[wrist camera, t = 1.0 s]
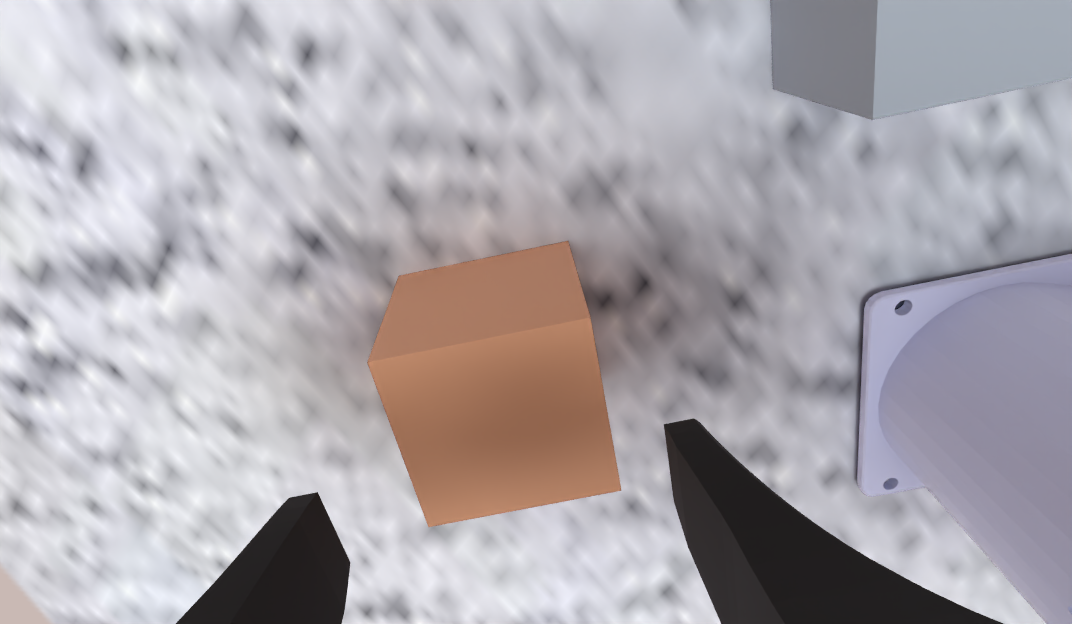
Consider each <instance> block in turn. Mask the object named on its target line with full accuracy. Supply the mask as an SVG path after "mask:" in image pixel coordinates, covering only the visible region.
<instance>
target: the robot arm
mask: <svg viewBox="0 0 1072 624" xmlns="http://www.w3.org/2000/svg"><path fill="white" fill-rule="evenodd" d="M903 300H905V302H904V304H903V305H902V306H901V307H900V308H899V309H896V310H895V307H896V305H897V304H898V303H899V302H900V301H903ZM664 429H665V437H666V444H667V452H668V459H669V467H670V475H671V482H672V490H673V498H674V503H675V506H676V509H677V512H678V516H679V519H680V522H681V526H682V529H683V532H684V535H685V538H686V542H687V545H688V548H689V550H690V552H691V555H692V557H693V559H694V562H695V564H696V566H697V569H698V571H699V573H700V576H701V578H702V580H703V583H704V585H705V587H706V589H707V592H708V594H709V596H710V599H711V601H712V603H713V605H714V608H715V610H716V612H717V615H718V617H719V619H720V622H721V624H1003V623H1001V622H998V621H996V620H993V619H991V618H988V617H986V616H983V615H981V614H979V613H976V612H974V611H972V610H969V609H967V608H965V607H963V606H961V605H958V604H956V603H954V602H952V601H950V600H948V599H946V598H944V597H942V596H939V595H937V594H935V593H933V592H931V591H929V590H927V589H925V588H923V587H921V586H919V585H917V584H915V583H913V582H911V581H910V580H908V579H906V578H904V577H902V576H900V575H899V574H897V573H895V572H893V571H891V570H889V569H888V568H886V567H884V566H882V565H880V564H878V563H877V562H875V561H873V560H871V559H869V558H868V557H866V556H864V555H863V554H861V553H860V552H858V551H856V550H855V549H853V548H851V547H850V546H848V545H847V544H845V543H843V542H842V541H840V540H839V539H837V538H836V537H834V536H833V535H831V534H830V533H828V532H827V531H825V530H824V529H822V528H821V527H820V526H818V525H817V524H815V523H814V522H812V521H811V520H810V519H808V518H807V517H806V516H804V515H803V514H801V513H800V512H799V511H797V510H796V509H795V508H794V507H792V506H791V505H790V504H788V503H787V502H786V501H785V500H783V499H782V498H781V497H779V496H778V495H777V494H776V493H774V492H773V491H772V490H771V489H770V488H768V487H767V486H766V485H765V484H764V483H763V482H761V481H760V480H759V479H758V478H757V477H756V476H754V475H753V474H752V473H751V472H750V471H749V470H748V469H746V468H745V467H744V466H743V465H742V464H741V463H740V462H739V461H738V460H737V459H735V458H734V457H733V456H732V455H731V454H730V453H729V452H728V451H727V450H726V449H725V448H724V447H723V446H722V445H721V444H720V443H719V442H718V441H717V440H716V439H715V438H714V437H713V436H712V435H711V434H710V433H709V432H708V431H707V430H706V429H705V428H704V426H703V425H702V424H701V423H700V422H698V421H697V420H695V419H689V420H684V421H679V422H674V423H669V424H664ZM887 479H889V480H888V481H886V480H887ZM857 484H858V487H859V488H860V490H861V491H862V492H863V493H864V494H865V495H867V496H880V495H885V494H890V493H896V492H901V491H906V490H912V489H917V488H923V487H926V488H927V489H928V490H929V491H930V492H931V493H932V495H933V496H934V497H935V498H936V499H937V500H938V501H939V502H940V504H941V505H942V506H943V507H944V508H945V509H946V510H947V512H948V513H949V514H950V515H951V516H952V517H953V518H954V519H955V521H956V522H957V523H958V524H959V525H960V526H961V527H962V528H963V530H964V531H965V532H966V533H967V534H968V535H969V536H970V538H971V539H972V540H973V541H974V542H975V543H976V544H977V545H978V547H979V548H980V549H981V550H982V551H983V552H984V553H985V554H986V556H987V557H988V558H989V559H990V560H991V561H992V562H993V564H994V565H995V566H996V567H997V568H998V569H999V570H1000V571H1001V573H1002V574H1003V575H1004V576H1005V577H1006V578H1007V579H1008V581H1009V582H1010V583H1011V584H1012V585H1013V586H1014V587H1015V588H1016V590H1017V591H1018V592H1019V593H1020V594H1021V595H1022V596H1023V597H1024V599H1025V600H1026V601H1027V602H1028V603H1029V604H1030V605H1031V607H1032V608H1033V609H1034V610H1035V611H1036V612H1037V613H1038V614H1039V616H1040V617H1041V618H1042V619H1043V620H1044V621H1045V622H1046V623H1047V624H1072V254H1067V255H1062V256H1057V257H1052V258H1047V259H1042V260H1037V261H1032V262H1027V263H1022V264H1017V265H1012V266H1007V267H1002V268H997V269H992V270H987V271H982V272H977V273H972V274H967V275H962V276H956V277H951V278H946V279H941V280H936V281H931V282H926V283H921V284H916V285H911V286H906V287H901V288H896V289H891V290H886V291H881V292H879V293H876V294H874V295H873V296H872V297H870V298H869V299H868V301H867V302H866V304H865V308H864V328H863V352H862V376H861V400H860V425H859V449H858V473H857ZM349 569H350V561H349V559H348V557H347V554H346V552H345V550H344V548H343V546H342V544H341V542H340V539H339V537H338V535H337V533H336V531H335V529H334V527H333V524H332V522H331V520H330V518H329V516H328V514H327V511H326V509H325V507H324V505H323V503H322V501H321V499H320V496H319V494H318V492H317V493H312V494H306V495H301V496H296V497H291V498H289V499H288V500H287V501H286V502H285V503H284V504H283V505H282V506H281V507H280V508H279V509H278V510H277V511H276V513H275V514H274V515H273V516H272V517H271V518H270V519H269V521H268V522H267V523H266V524H265V525H264V526H263V527H262V529H261V530H260V531H259V532H258V533H257V534H256V536H255V537H254V538H253V539H252V540H251V541H250V543H249V544H248V545H247V546H246V547H245V548H244V550H243V551H242V552H241V553H240V554H239V555H238V556H237V557H236V559H235V560H234V561H233V562H232V563H231V564H230V565H229V567H228V568H227V569H226V570H225V571H224V572H223V573H222V575H221V576H220V577H219V578H218V579H217V580H216V581H215V583H214V584H213V585H212V586H211V587H210V588H209V589H208V590H207V591H206V592H205V593H204V594H203V595H202V596H201V597H200V599H199V600H198V601H197V602H196V603H195V604H194V605H193V606H192V607H191V608H190V609H189V610H188V611H187V612H186V613H185V614H184V616H183V617H182V618H181V619H180V620H179V621H178V622H177V623H176V624H341V623H342V619H343V615H344V610H345V603H346V595H347V588H348V578H349Z"/></svg>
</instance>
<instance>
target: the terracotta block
mask: <svg viewBox="0 0 1072 624" xmlns="http://www.w3.org/2000/svg"><path fill="white" fill-rule="evenodd" d="M367 363H368V366H369V368H370V371H371V374H372V376H373V379H374V382H375V385H376V387H377V390H378V393H379V395H380V398H381V401H382V403H383V406H384V409H385V411H386V414H387V417H388V419H389V422H390V425H391V428H392V430H393V433H394V436H395V438H396V441H397V444H398V446H399V449H400V452H401V454H402V457H403V460H404V462H405V465H406V468H407V470H408V473H409V476H410V479H411V481H412V484H413V487H414V489H415V492H416V495H417V497H418V500H419V503H420V505H421V508H422V511H423V513H424V516H425V519H426V522H427V524H428V527H432V526H437V525H442V524H447V523H453V522H458V521H463V520H468V519H474V518H479V517H484V516H490V515H495V514H500V513H505V512H511V511H516V510H521V509H526V508H532V507H537V506H542V505H547V504H553V503H558V502H563V501H569V500H574V499H579V498H584V497H590V496H595V495H600V494H605V493H611V492H616V491H621V485H620V480H619V474H618V469H617V463H616V457H615V452H614V446H613V441H612V435H611V429H610V424H609V418H608V413H607V407H606V402H605V396H604V390H603V385H602V379H601V374H600V368H599V362H598V357H597V351H596V346H595V340H594V334H593V329H592V323H591V318H590V314H589V311H588V307H587V304H586V301H585V297H584V294H583V290H582V287H581V284H580V280H579V277H578V273H577V270H576V267H575V263H574V260H573V256H572V253H571V249H570V246H569V243H568V241H565V242H560V243H556V244H551V245H546V246H541V247H536V248H531V249H526V250H522V251H517V252H512V253H507V254H502V255H497V256H492V257H488V258H483V259H478V260H473V261H468V262H463V263H458V264H454V265H449V266H444V267H439V268H434V269H429V270H424V271H420V272H415V273H410V274H405V275H400V276H399V277H398V280H397V283H396V285H395V288H394V291H393V294H392V296H391V299H390V302H389V304H388V307H387V310H386V313H385V315H384V318H383V321H382V324H381V326H380V329H379V332H378V335H377V337H376V340H375V343H374V345H373V348H372V351H371V354H370V356H369V359H368V362H367Z"/></svg>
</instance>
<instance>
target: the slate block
mask: <svg viewBox="0 0 1072 624" xmlns="http://www.w3.org/2000/svg"><path fill="white" fill-rule="evenodd" d="M770 8H771V45H772V81H773V89H775V90H778V91H781V92H784V93H787V94H791V95H794V96H797V97H800V98H804V99H807V100H810V101H813V102H816V103H820V104H823V105H826V106H829V107H833V108H836V109H839V110H842V111H846V112H849V113H852V114H855V115H858V116H862V117H865V118H868V119H871V120H875V119H880V118H885V117H889V116H894V115H899V114H904V113H908V112H913V111H918V110H923V109H927V108H932V107H937V106H942V105H947V104H951V103H956V102H961V101H966V100H970V99H975V98H980V97H985V96H989V95H994V94H999V93H1004V92H1009V91H1013V90H1018V89H1023V88H1028V87H1032V86H1037V85H1042V84H1047V83H1052V82H1056V81H1061V80H1066V79H1071V78H1072V0H770Z"/></svg>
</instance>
